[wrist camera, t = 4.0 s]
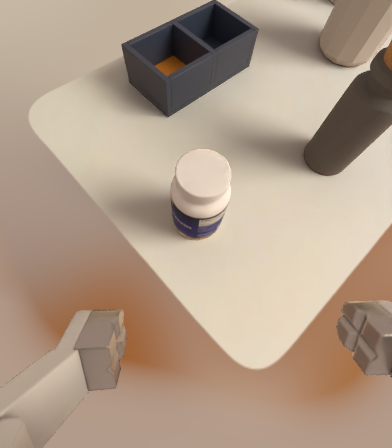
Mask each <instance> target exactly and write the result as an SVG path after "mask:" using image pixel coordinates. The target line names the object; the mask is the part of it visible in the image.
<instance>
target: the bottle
mask: <svg viewBox="0 0 392 448" xmlns="http://www.w3.org/2000/svg"><path fill="white" fill-rule="evenodd" d="M370 70H371V71H366V72H363V73H361V74H359V75H358V76H357V77H356V78H355V79H354V80H353V82H352V83H351V84H350V86H349V87H348V88H347V90H346V91H345V93H344V94H343V95H342V97H341V98H340V99H339V101H338V102H337V104H336V105H335V106H334V108H333V109H332V111H331V112H330V113H329V115H328V116H327V118H326V119H325V121H324V122H323V123H322V125H321V126H320V128H319V129H318V130H317V132H316V133H315V135H314V136H313V138H312V139H311V140H310V142H309V143H308V145H307V146H306V148H305V151H304V158H305V161H306V163H307V164H308V166H309V167H310V168H311V169H313V170H314V171H316V172H317V173H320V174H323V175H336V174H338V173H340V172H341V171H342V170H344V169H345V168H346V167H347V166H348V165H349V164H350V163H351V162H352V161H353V160H354V159H356V158H357V157H358V156H359V155H360V154H361V153H362V152H363V151H364V150H365V149H366V148H367V147H368V146H369V145H370V144H372V143H373V142H374V141H375V140H376V139H377V138H378V137H379V136H380V135H381V134H382V133H383V132H384V131H385V130H386V129H387V128H389V127H390V126H391V125H392V40H391V42H390V44H389V46H388V47H387V48H384V49H382V50H380V51H379V52H378V53H377V55H376V56H375V57H374V59H373V60H372V62H371V64H370Z"/></svg>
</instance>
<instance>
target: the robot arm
mask: <svg viewBox="0 0 392 448" xmlns="http://www.w3.org/2000/svg"><path fill="white" fill-rule="evenodd" d="M341 311H342V313H343V316H342V317H341V318H339V319H338V322H337V326H336V328H337V334H338V337H339V339H340V341H341V342H342V344H343V345H344V347H346V348H348V349H349V350H351V351H352V352H353V359H354V360H355V362H356V363H357V364H358V366H359V367H360V368H361V369H362V371H363V372H364V374H365V375H391V376H390V377H392V303H391V302H389V301H387V300H378V301H358V302H345V303H344V304H343V306H342V309H341ZM123 321H124V313H123V310H79V311H77V312H76V313H75V314H74V316H73V318H72V320H71V322H70V324H69V325H68V327H67V329H66V331H65V332H64V334H63V336H62V338H61V339H60V341H59V343H58V345H57V347H56V349H55V350H53V351H49V352H47V353H46V354H45V355H43V356H42V357H41V358H39V359H38V360H37V361H35V362H34V363H32V364H31V365H30V366H28V367H27V368H26V369H25V370H23V371H22V372H20V373H19V374H18V375H16V376H15V377H14V378H12V379H11V380H10V381H8V382H7V383H6V384H4V385H3V386H2V387H0V448H43V447H44V445H45V444H46V443H47V442H48V440H49V439H50V438H51V437H52V436H53V435H54V433H55V432H56V431H57V430H58V429H59V427H60V426H61V425H62V424H63V423H64V421H65V420H66V419H67V418H68V417H69V415H70V414H71V413H72V412H73V411H74V409H75V408H76V407H77V406H78V405H79V403H80V402H81V401H82V400H83V399H84V397H85V396H86V395H87V393H88V391H93V390H104V389H115V388H116V385H117V381H118V378H119V374H120V370H121V367H120V360H121V359H122V358H123V357H124V353H125V347H126V328H125V327H124V326H123Z"/></svg>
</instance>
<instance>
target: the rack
mask: <svg viewBox="0 0 392 448" xmlns="http://www.w3.org/2000/svg"><path fill="white" fill-rule="evenodd" d="M258 30H259V29H258V28H257V27H255V26H254V25H252V24H251V23H249V22H248V21H246V20H245V19H243V18H242V17H240V16H239V15H237V14H236V13H234V12H233V11H231V10H230V9H228V8H227V7H225V6H224V5H222V4H221V3H219V2H218V1H216V0H212V1H210V2H208V3H206V4H204V5H202V6H200V7H198V8H196V9H194V10H192V11H190V12H188V13H186V14H183V15H181V16H179V17H177V18H175V19H173V20H171V21H169V22H167V23H165V24H163V25H161V26H159V27H156V28H155V29H152V30H150V31H148V32H146V33H144V34H142V35H140V36H138V37H136V38H134V39H132V40H129V41H127V42H125V43H123V44H122V50H123V55H124V59H125V64H126V68H127V73H128V78H129V82H130V83H131V84H132V85H133V86H134V87H135V88H136V89H137V90H138V91H140V92H141V93H142V94H143V95H144V96H145V97H146V98H147V99H148V100H150V101H151V102H152V103H153V104H154V105H155V106H156V107H157V108H158V109H160V110H161V111H162V112H163V113H164V114H165V115H166V116H167V117H169V116H171V115H172V114H174V113H176V112H177V111H179V110H180V109H182V108H184V107H185V106H187V105H188V104H190V103H191V102H193V101H195V100H196V99H198V98H199V97H201V96H202V95H204V94H206V93H207V92H209V91H210V90H212V89H214V88H215V87H217V86H218V85H220V84H221V83H223V82H225V81H226V80H228V79H229V78H231V77H233V76H234V75H236V74H237V73H239V72H240V71H242V70H244V69H245V68H247V67H248V66H249V64H250V60H251V56H252V53H253V49H254V45H255V41H256V37H257V34H258Z"/></svg>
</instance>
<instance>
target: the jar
mask: <svg viewBox="0 0 392 448" xmlns="http://www.w3.org/2000/svg"><path fill="white" fill-rule="evenodd" d="M391 33H392V0H337V2H336V4H335V6H334V8H333V10H332V12H331V14H330V16H329V18H328V20H327V22H326V24H325V26H324V29H323V31H322V33H321V36H320V41H319V43H320V48H321V50H322V52H323V54H324V56H325V57H326V58H328V59H329V60H331V61H332V62H334V63H335V64H339V65H342V66H346V67H350V66H359V65H361V64H363V63H366V62H367V61H369V60H370V59H371V58H373V57H374V56H375V55H376V53H377V52H378V50H379V49H380V48H381V46H382V45H383V44H384V42H385V41H386V39H387V38H388V37H389V35H390V34H391Z"/></svg>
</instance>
